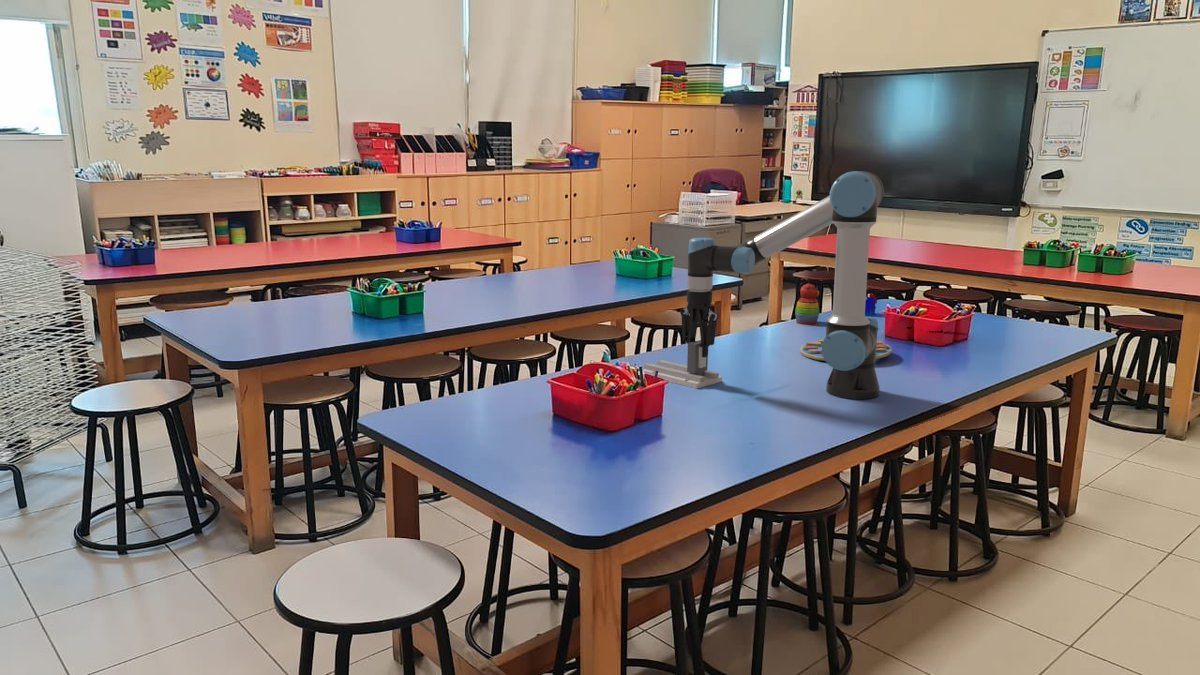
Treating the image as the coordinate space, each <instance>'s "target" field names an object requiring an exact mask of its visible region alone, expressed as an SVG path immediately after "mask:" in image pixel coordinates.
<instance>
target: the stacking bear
mask: <svg viewBox="0 0 1200 675" xmlns="http://www.w3.org/2000/svg"><path fill="white" fill-rule="evenodd" d="M799 292H800V297H799V299H798V301H797V302H796V307H795V313H794V315H795V320H796V324H798V325H803V326H808V327H809V326H811V327H817V325H818V319H819V316H820V308H819V306H820V305H819V302H818V299H817V297H819V295H820V291H819V290H818V289H817V288H816V286H815V285H814V284H810V283H809V282H808V283H806V284H803V285H802V286H801V287H800V289H799Z"/></svg>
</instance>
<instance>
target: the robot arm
mask: <svg viewBox="0 0 1200 675" xmlns="http://www.w3.org/2000/svg"><path fill="white" fill-rule="evenodd" d="M829 190H830V191H829V195H828V196H826V197H825V198H823V199H821V200H819V201H817V202H815V203H813V204H812V205H810V206H808V207H807V208H805V209H803V210H801V211H799V212H797V213H795V214H793V215H791V216H790V217H788V218H787V219H786V218H785V220H782V221H781V222H779V223H777V224H776V225H774V226H772V227H769V228H768V229H766V230H764V231H763V232H761V233H759V234H757V235H755V236H754V237H751V238H749V239H748V240H746V241H744V242H742V243H740V244H735V245H733V246H732V245H731V246H728V245H727V246H726V245H715V244H716V243H715V240H714V239H713V238H711V237H693V238H691V239H689V241H688V251H687V283H686V288H687V289H688V290H687V291H686V302H687V306H686V307H684V308H681V309H679V314H680V316H681V332H682V333H681V334H682V335H681V336H682V337H681V338H682V341H683V342H686V343H687V344H688V343H690V342H695V341H696V338H697V330H698V325H699V335H700V337H699V338H700V340H701V345H700V347H699V364H698V368H703V367H706V357H708V358H709V347H710V346H713V345H715V338H716V331H717V322H718V319H719V317H720V314H719V313H715V312H713V311H712V310H713V309H712V305H711V304H712V302H713V291H712V289H713V283H714V282H713V277H714V272H723V273H724V272H725V273H734V274H739V275H740V274H750V273H752V272H753V269H754V268H755V267H756V265H758V264H759V263H761V262H762V261H765V260H766V259H768V258H770V257H772V256H773V255H775V254H777V253H779V252H781V251H784V250H785V249H787V248H789V247H791V246H793V245H794V244H797V243H798V242H800V241H802V240H804V239H806V238H808V237H810V236H811V235H813V234H816V233H818V232H819V231H821V230H823V229H825V228H827V227H829V226H831V225H834V226H835V228H837V229H836V247H835V264H834V265H835V266H834V281H833V282H834V284H833V285H834V286H833V301H832V302H833V303H832V314H831V315H830V316H828V318H827V319H826V328H825V337H824V338H823V339H824V341H823V344H822V355H823V358H824V359H825V361H824V362H826V363H827V365H828V366H829V367H831V368H832V369H831V373H830V375H829V377H828V379H827V382H826V391H825V392H827V393H828V394H830V395H833V396H834V397H839V398H842V399H843V398H844V399H851V400H852V399H853V400H854V399H855V400H866V399H867V400H869V399H874V398H878V397H879V395H880V389H881V388H880V384H879V380H878V376H877V373H876V372H877V371H876V364H875V359H876V346H877V340H878V333H879V332H878V331H879V329H880V328H879V321H878V319H877V318H875V317H872V316H865V302H866V297H867V296H866V292H867V286H868V284H867V283H868V267H869V266H868V265H869V264H868V263H869V251H870V248H869V247H870V233H871V228H872V227H873V226H875V224H876V223H877V217H878V206H879V205H880V204H881V202H882V199H883V198H884V197H883V196H884V191H885V190H884V186H883V182H882V180H881V178H880V177H879V176H878V175H876V174H875V173H873V172H870V171H867V170H859V171H858V170H855V171H854V170H852V171H848V172H845V173H844V174H841V175H840V176H839V177H838V178H836V180H835V181H834V182H833V184H832V185H831V188H830V189H829Z"/></svg>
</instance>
